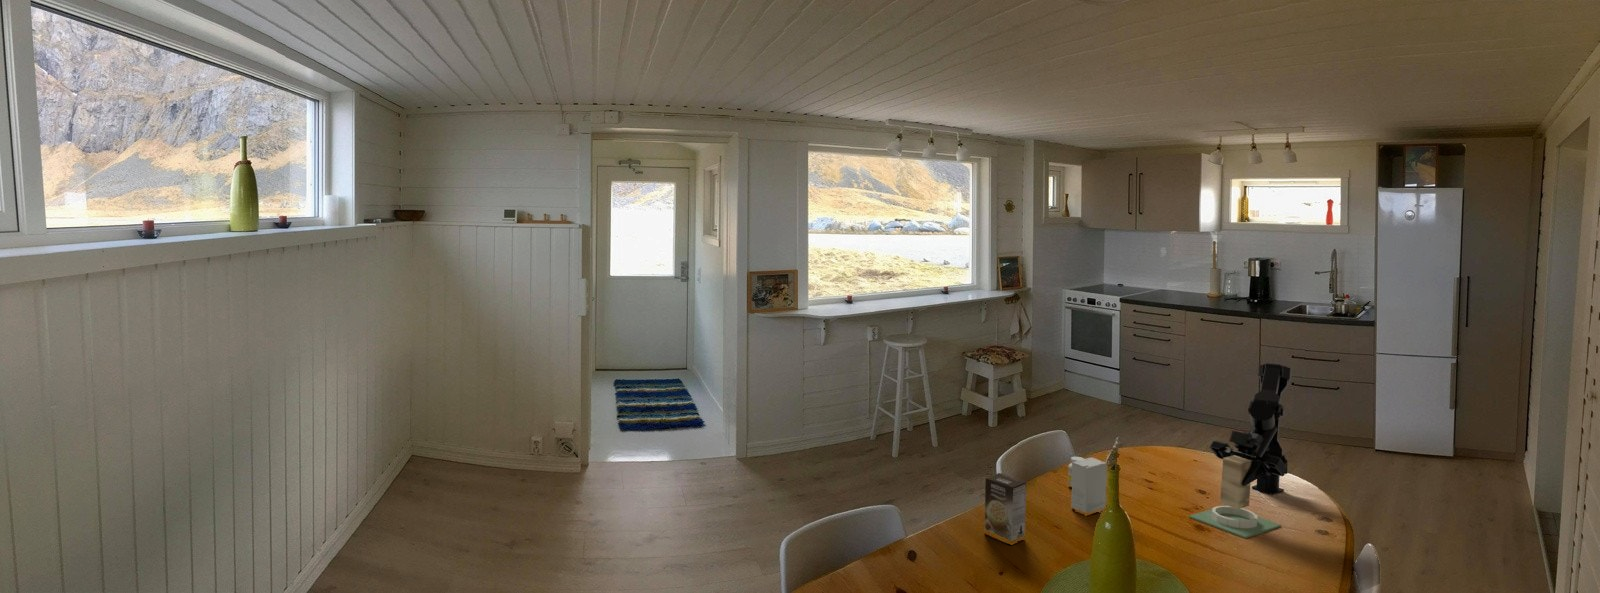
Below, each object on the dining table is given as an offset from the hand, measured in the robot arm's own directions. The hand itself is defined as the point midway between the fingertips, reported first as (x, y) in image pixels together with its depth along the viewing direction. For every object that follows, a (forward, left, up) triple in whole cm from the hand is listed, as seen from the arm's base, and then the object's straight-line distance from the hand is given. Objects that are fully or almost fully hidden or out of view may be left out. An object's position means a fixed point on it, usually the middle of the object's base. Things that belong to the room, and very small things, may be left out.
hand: (1233, 482), depth 201 cm
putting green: (-1, 0, -12) cm, 12 cm away
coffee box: (+62, -23, -12) cm, 67 cm away
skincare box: (+28, -25, -12) cm, 39 cm away
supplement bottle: (+16, -40, -12) cm, 45 cm away
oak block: (-2, 0, -7) cm, 7 cm away
